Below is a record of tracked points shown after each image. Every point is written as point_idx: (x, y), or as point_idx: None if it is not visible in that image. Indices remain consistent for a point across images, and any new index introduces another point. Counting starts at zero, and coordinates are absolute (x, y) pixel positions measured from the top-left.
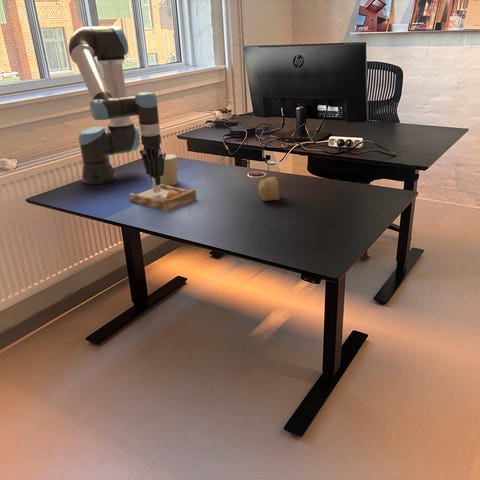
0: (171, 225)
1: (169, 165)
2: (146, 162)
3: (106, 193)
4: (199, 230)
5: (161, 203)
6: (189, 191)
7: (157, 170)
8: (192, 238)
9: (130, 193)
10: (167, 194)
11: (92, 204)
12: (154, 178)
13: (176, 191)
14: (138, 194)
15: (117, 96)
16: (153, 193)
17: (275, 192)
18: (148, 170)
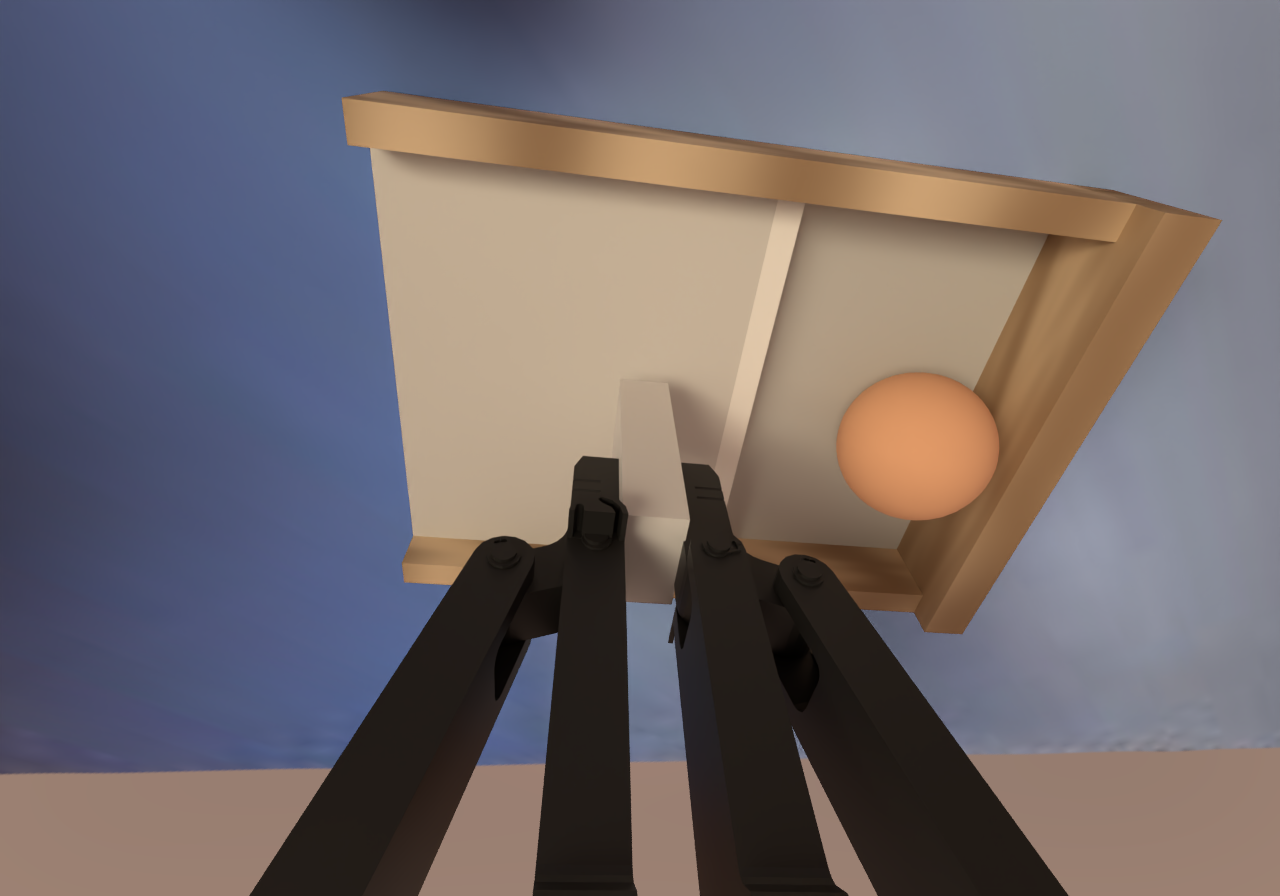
0: (1045, 687)
1: None
2: (437, 836)
3: (12, 493)
4: (1257, 670)
5: (878, 604)
6: (1134, 314)
7: (801, 735)
8: (1224, 735)
9: (410, 572)
10: (878, 510)
11: (246, 683)
12: (671, 590)
13: (985, 452)
14: (424, 470)
15: None
16: (551, 376)
17: None
18: (513, 666)
